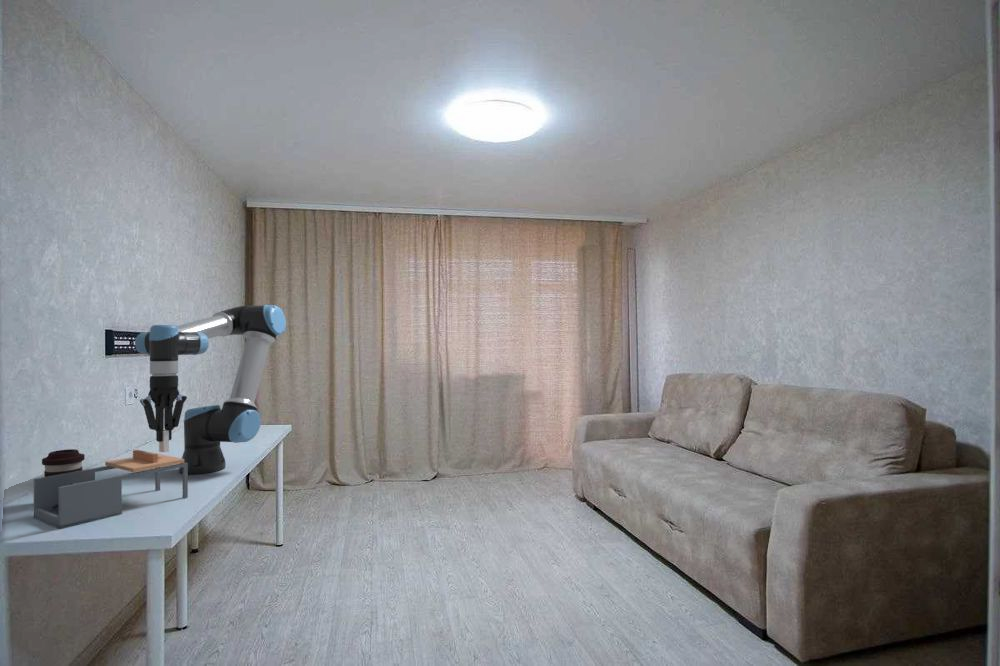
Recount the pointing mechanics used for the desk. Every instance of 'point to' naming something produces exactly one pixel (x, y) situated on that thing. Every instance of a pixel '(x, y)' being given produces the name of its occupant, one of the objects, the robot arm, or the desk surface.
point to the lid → (143, 461)
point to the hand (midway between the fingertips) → (164, 451)
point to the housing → (86, 495)
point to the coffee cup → (62, 462)
